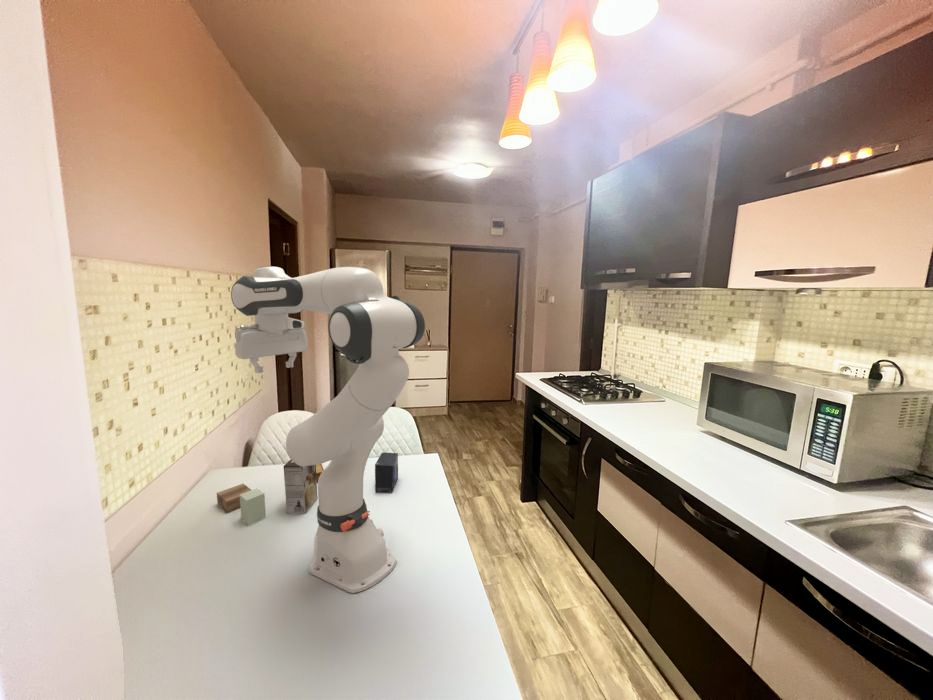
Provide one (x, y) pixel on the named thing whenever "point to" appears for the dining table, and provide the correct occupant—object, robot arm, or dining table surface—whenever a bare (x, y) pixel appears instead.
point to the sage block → (252, 506)
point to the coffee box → (300, 487)
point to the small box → (386, 472)
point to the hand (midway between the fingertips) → (275, 369)
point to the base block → (231, 497)
